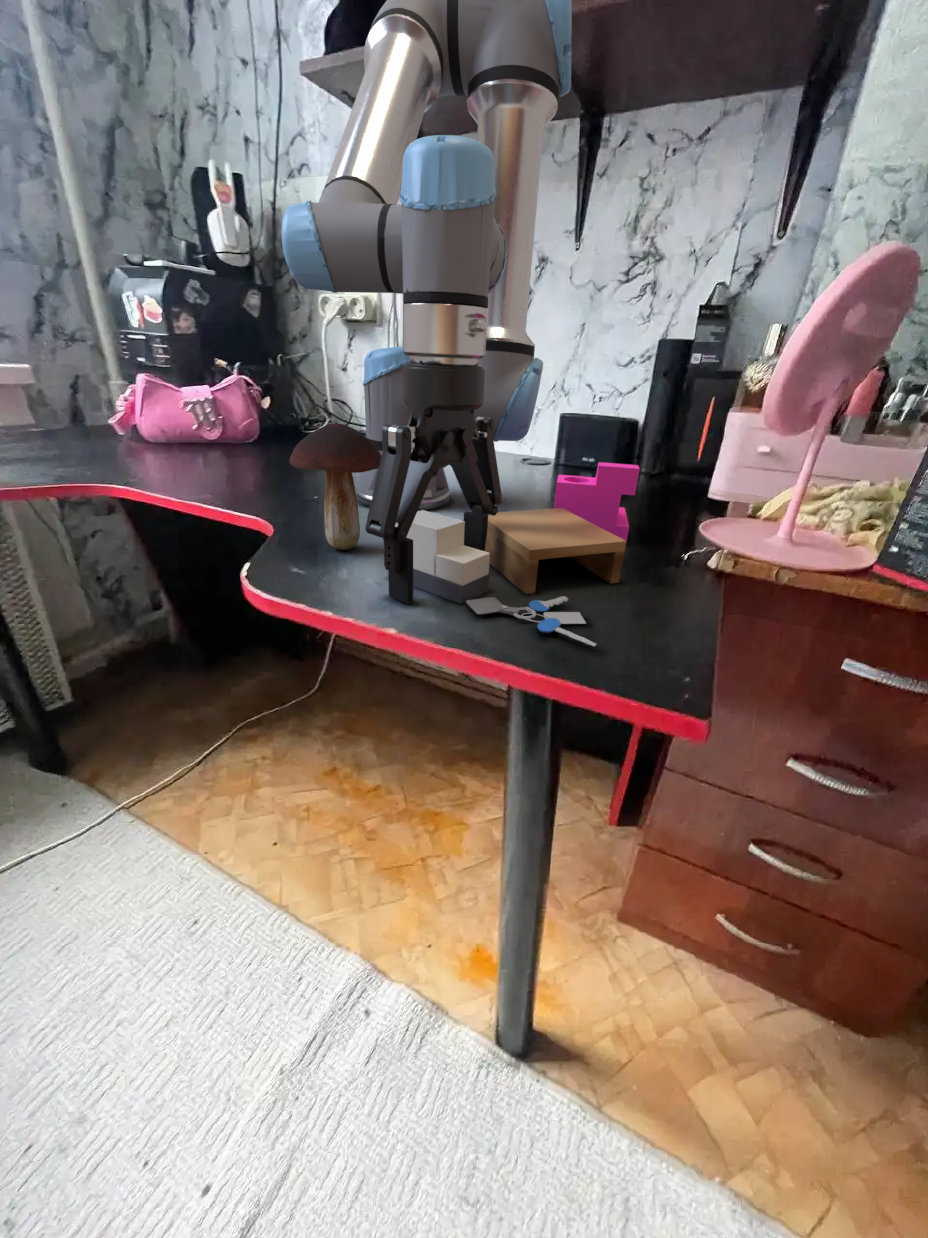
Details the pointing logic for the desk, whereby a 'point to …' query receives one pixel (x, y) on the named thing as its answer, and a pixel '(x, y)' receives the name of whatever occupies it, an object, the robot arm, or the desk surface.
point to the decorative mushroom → (338, 476)
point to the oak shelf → (550, 544)
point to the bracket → (599, 496)
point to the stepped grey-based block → (446, 558)
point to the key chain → (545, 625)
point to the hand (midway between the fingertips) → (439, 583)
